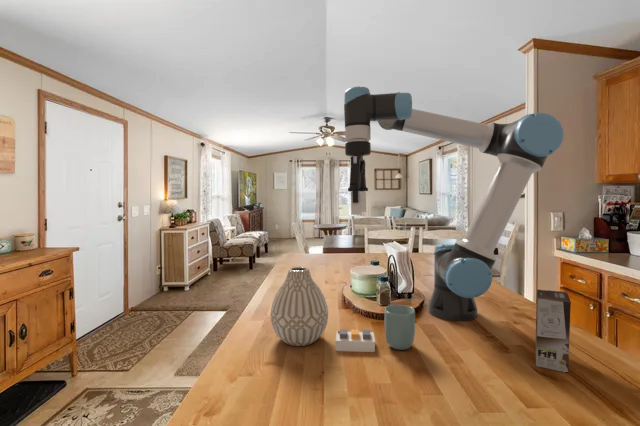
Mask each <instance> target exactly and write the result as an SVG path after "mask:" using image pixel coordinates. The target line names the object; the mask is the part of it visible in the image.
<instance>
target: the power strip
mask: <svg viewBox="0 0 640 426" xmlns="http://www.w3.org/2000/svg"><path fill="white" fill-rule="evenodd" d="M375 348H376V340H375V333H374V332H373V331H372V332H371V330H370V329H362V331H359V329H350V331H348V329H347V328H345V329H344V328H343V329H342V328H340V329H339V330H336V334H335V351H337V352H357V353H359V352H364V353H365V352H366V353H368V352H369V353H376V349H375Z"/></svg>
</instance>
